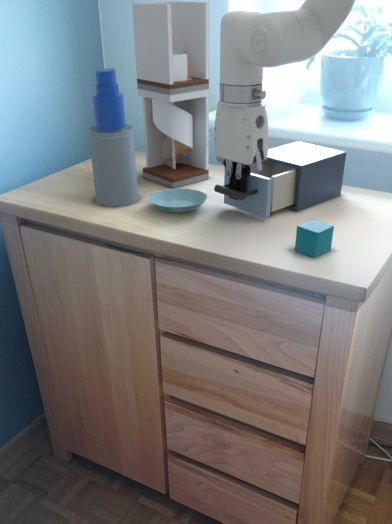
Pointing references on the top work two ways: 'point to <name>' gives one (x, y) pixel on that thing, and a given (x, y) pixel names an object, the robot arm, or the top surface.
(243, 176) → the robot arm
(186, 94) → the spiral staircase model
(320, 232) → the cube
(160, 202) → the saucer
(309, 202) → the mini chest of drawers
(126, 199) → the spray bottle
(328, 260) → the top surface
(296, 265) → the top surface
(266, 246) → the top surface
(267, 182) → the drawer
